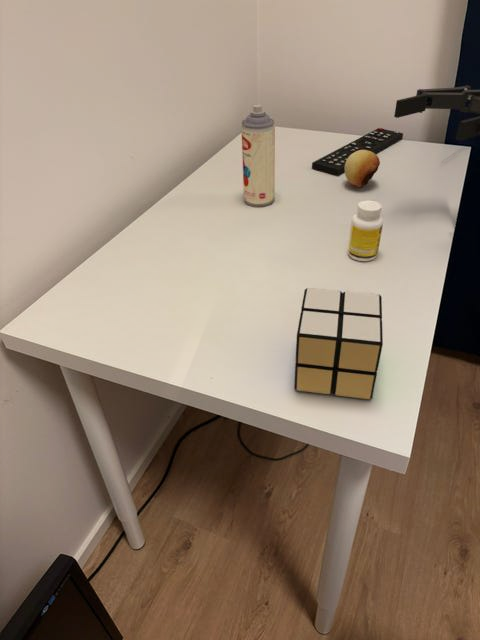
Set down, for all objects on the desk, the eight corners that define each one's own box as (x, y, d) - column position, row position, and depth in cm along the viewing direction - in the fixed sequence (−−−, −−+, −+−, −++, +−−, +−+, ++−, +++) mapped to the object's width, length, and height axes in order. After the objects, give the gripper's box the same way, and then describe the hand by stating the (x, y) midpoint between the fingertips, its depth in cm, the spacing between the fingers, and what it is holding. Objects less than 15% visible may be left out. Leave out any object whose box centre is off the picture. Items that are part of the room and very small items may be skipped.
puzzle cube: (301, 341, 71) (304, 286, 65) (371, 348, 70) (381, 292, 63) (293, 391, 64) (296, 334, 57) (371, 401, 62) (383, 343, 56)
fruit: (376, 179, 114) (381, 145, 109) (376, 194, 108) (381, 159, 103) (343, 177, 116) (347, 143, 111) (341, 192, 109) (345, 157, 104)
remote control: (402, 138, 134) (404, 131, 133) (337, 176, 116) (338, 168, 115) (378, 133, 138) (379, 126, 137) (311, 168, 120) (312, 160, 119)
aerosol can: (241, 195, 110) (237, 102, 97) (270, 192, 111) (270, 99, 98) (247, 208, 105) (243, 112, 92) (277, 205, 106) (278, 109, 93)
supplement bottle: (380, 261, 87) (389, 212, 81) (350, 262, 87) (356, 213, 81) (374, 246, 91) (382, 197, 85) (345, 247, 91) (350, 198, 85)
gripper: (464, 60, 92) (377, 78, 85) (593, 89, 75) (498, 115, 67) (454, 102, 97) (371, 122, 89) (573, 138, 80) (483, 167, 72)
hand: (426, 119), depth 78 cm, fingers open, 13 cm apart
